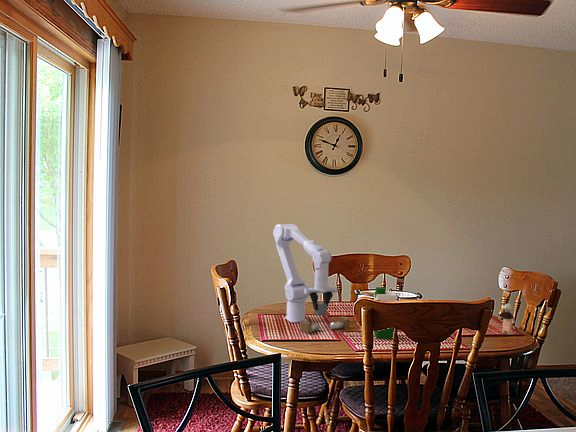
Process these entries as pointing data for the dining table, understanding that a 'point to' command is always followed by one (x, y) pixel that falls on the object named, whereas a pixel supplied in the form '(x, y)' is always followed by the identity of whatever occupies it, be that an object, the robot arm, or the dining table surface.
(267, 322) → the dining table surface
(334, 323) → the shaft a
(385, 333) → the milk carton
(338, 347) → the dining table surface
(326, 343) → the dining table surface
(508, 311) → the grandmother figurine
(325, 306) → the coupler
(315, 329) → the brown lumpy block
